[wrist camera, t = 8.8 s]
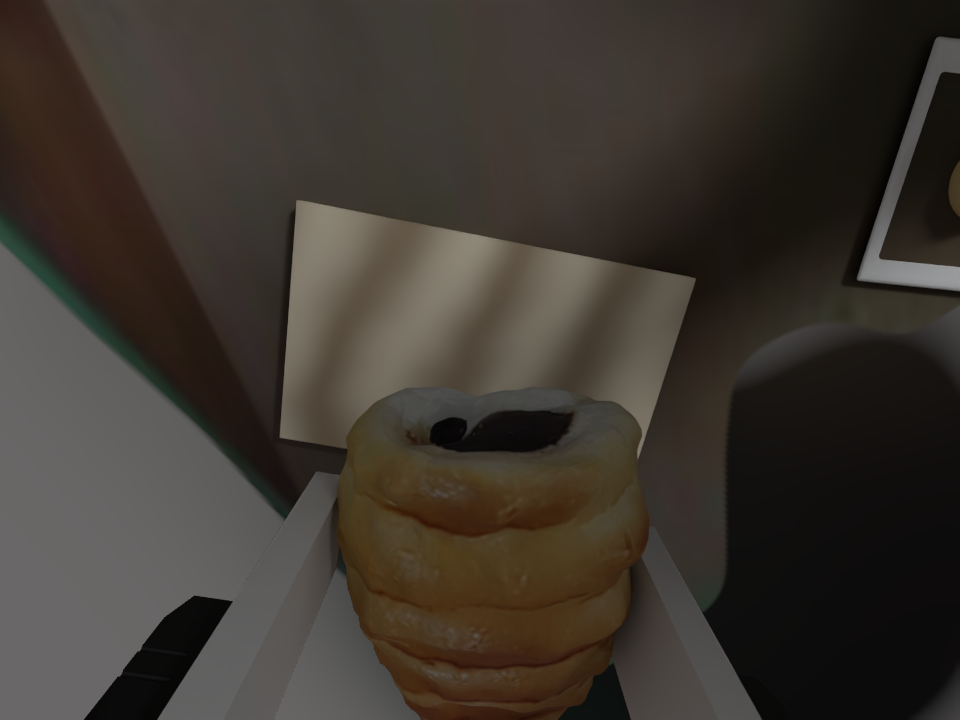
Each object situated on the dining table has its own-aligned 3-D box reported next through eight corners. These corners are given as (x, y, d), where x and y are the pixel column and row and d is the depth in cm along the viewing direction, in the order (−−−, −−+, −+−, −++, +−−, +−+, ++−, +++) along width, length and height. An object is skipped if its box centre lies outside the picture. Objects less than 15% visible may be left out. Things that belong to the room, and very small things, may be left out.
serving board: (688, 276, 27) (696, 278, 26) (621, 486, 31) (626, 495, 30) (303, 200, 25) (296, 200, 25) (286, 430, 29) (279, 437, 29)
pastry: (603, 675, 14) (646, 843, 10) (374, 676, 14) (334, 841, 10) (628, 372, 11) (701, 451, 7) (342, 375, 11) (271, 454, 7)
